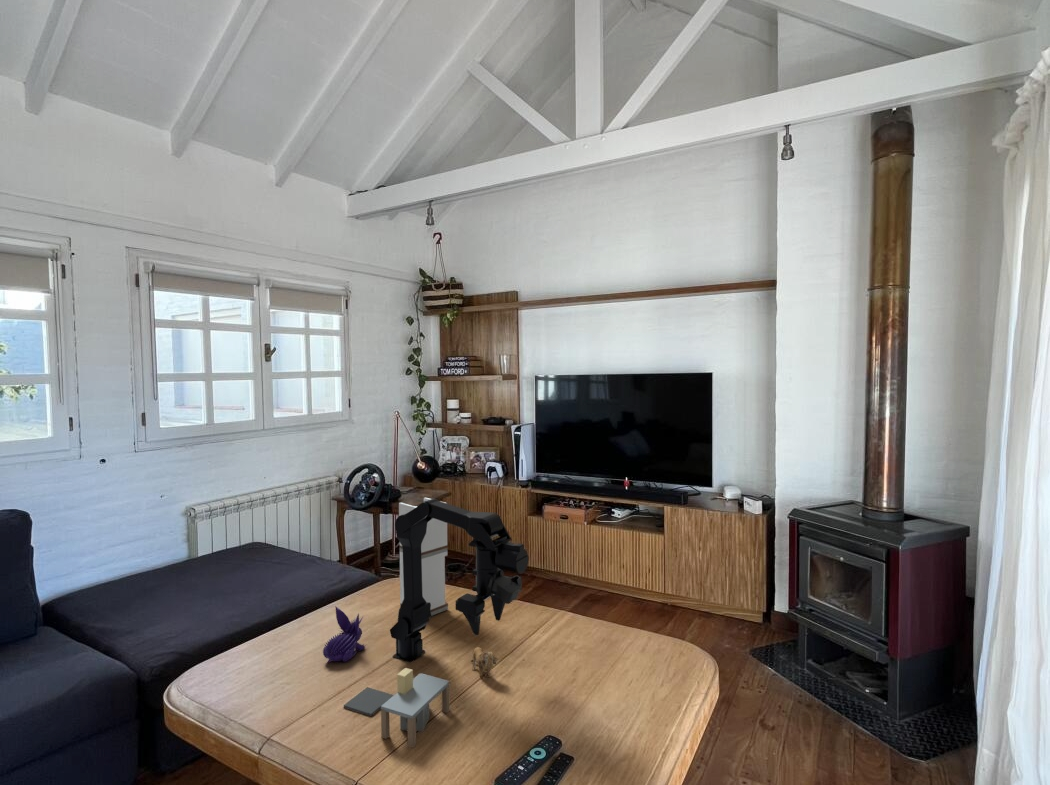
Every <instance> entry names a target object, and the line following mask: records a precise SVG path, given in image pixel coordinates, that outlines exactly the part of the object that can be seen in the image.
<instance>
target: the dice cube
mask: <svg viewBox="0 0 1050 785" xmlns="http://www.w3.org/2000/svg"><path fill="white" fill-rule="evenodd" d="M399 717H400V720H399V721H400V722H399V723H400V724H399V725H400V731H408V723H407V718H405V717H402V716H399ZM429 718H430V703H429V704H428V705H427V706H426V707H425V708H424V709H423V710H422V711H421V712H420V713H419V714H418V715H417V716H416V732H424V731H425V730H424V729H425V727H426V725H427V724H428V721H429Z"/></svg>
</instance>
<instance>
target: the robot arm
mask: <svg viewBox="0 0 1050 785" xmlns="http://www.w3.org/2000/svg"><path fill="white" fill-rule="evenodd" d="M433 518H434V519H437V520H440V521H443V522H446V523H447V525H448V524H449V525H452V526H455V527H457V528H460V529H462V530H464V531H465V532H466V534H468V536H470V537H471V538H473V539H472V540H470V542H469V543H468V546H469V547H473V548H475V568H474V569H472V575H475V585H473V586H472V590H471V591H472V592H476V594H472V593H464V594H463V595H461V596H460V597H458V598H457V599H455V610H456V611H458V612H460V613H462V615H463V616H464V617H465V619H466V620H467V622H468V624H469V626H470V629H471V631H472V633H473V635H475V636H479V635H480V628H481V627H480V626H481V616H482V615H483V614H484V613H485V612H486V610H485V609H484V608H485V606H486V603H485V601H486V600H488V599H489V598H490V599H491V605H492V609H493V610H492V611H493V615H494V618H495V620H496V621H497V622H499V621H501V618H502V614H503V611H504V608H505V605H510V604H511V603H512V602H513V601H516V600H517V598H518V595H519V593H520V592H521V591H522V590H523V588H522V585H523V583H522V577H521V576H519V574H520V575H522V574H524V573H525V572H526V570H527V568H528V565H529V561H530V560H529V559H530V556H529V554H528V551H527V550H526V549H525V544H523V543H516V542H515V543H514V542H511V541H512V537H511V536H510V533H509V532H508V531H507V528H506V527H505V525H504V523H503V520H502V518H501V516H500V514H498V513H496V512H487V511H470V510H468V509H464V508H462V507H459V506H456V505H452V504H450V503H448V502H445V503H444V501H442V502H441V501H440V500H439V499H438V498H430V500H427V501H424V500H423V501H422V502H421V503H419V505H418V507H416V508H415V509H413V510H411V511H410V512H408V513H406V514H403V515H400V516H399V515H398V516H397V518H395V521H394V529H395V535H396V538H397V540H398V542H400V543H401V545H402V547H403V580H404V600H403V602H402V604H401V606H400V607H399V609H398V613H397V622H396V623H394V625H393V626H392V627H391V628H390V629H389V633H390V636H391V638H392V639H394V640H395V649H396V650H395V654H393V655H392V658H393V659H396V660H400V661H404V662H408V663H413V662H414V661H416V660H417V659H419V658H420V657H421V656H422V655H424V654H425V653H426V650H425V649H423V647H424V646H423V641H424V640H423V638H422V632H421V631H424V630H425V629H426V627H427V625H428V624H429V623H430V620H431V618H432V616H431V611H430V608H431V604H430V602H426V601H425V599H424V598H423V595H422V559H421V544H422V541H423V539H424V537H425V535H426V530H427V523H428V522H429V521H430V520H431V519H433ZM496 537H497V538H496ZM493 538H495V539H493ZM504 571H507V572H511V573H515V574H516V575H514V576H507V575H505V574H504Z"/></svg>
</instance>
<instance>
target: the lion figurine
mask: <svg viewBox="0 0 1050 785" xmlns="http://www.w3.org/2000/svg"><path fill="white" fill-rule="evenodd" d="M498 662H499V658H498V657H496V656H495V655H494V652H492V651H487V652H484V651H483V648H481V647H475V648H474V650H473V653H472V660H470V663H472V669H471V671H472V672H475V671H476V664H477V665H478V673H479V678H478V679H479V680H480V681H483V680H484V675H483V672H485V677H486V678H489V677H491V675H490V674H489V672H490V671H491V670H492V669H493V668H494V665H497V663H498Z"/></svg>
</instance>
